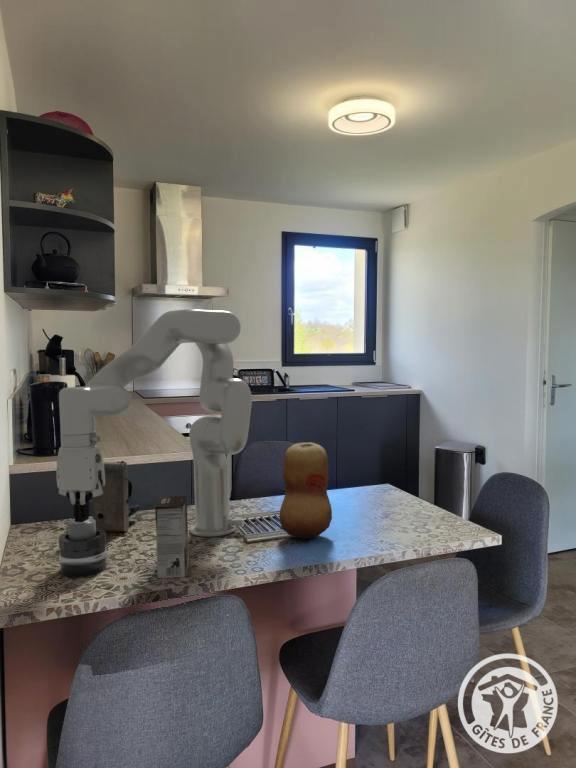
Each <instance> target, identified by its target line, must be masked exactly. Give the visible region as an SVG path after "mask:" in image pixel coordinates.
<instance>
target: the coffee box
mask: <svg viewBox="0 0 576 768" xmlns="http://www.w3.org/2000/svg"><path fill="white" fill-rule="evenodd" d="M187 498H188V496H187V495H165V496H160V497H158V500H157V502H156V504H155V534H156V535H155V536H156V538H155V539H156V568H157V569H156V570H157V571H156V572H157V579H168V578H169V579H170V578H185V577H187V572H188V569H189V564H190V556H189V555H190V553H189V527H188V503H187V502H188V501H187V500H188V499H187Z"/></svg>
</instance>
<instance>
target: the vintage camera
mask: <svg viewBox="0 0 576 768" xmlns="http://www.w3.org/2000/svg"><path fill="white" fill-rule="evenodd" d="M103 463H104V471H105V486H104V487H102V490H103V494H102V495H100V496H96V497H93V498H92V500H91V502H92V503H91V504H92V519H95V520H96V529H102V530H104V531H105V533H127V532H128V531H129V527H130V518H131V517H132V516H133V515H135V514H136V513H137V512H139V511H140V510H141V509H142V508H143V506H141V505H140V504H138V503H137V504H135V505H133V506H130V505H129V504H130V503H129V502H130V498H131V497H132V493H133V484H132V482H131V480H129V472H128V464H127V462H126V461H124V460H121V461H116V462H115V461H114V462H108V461H103ZM126 531H127V532H126Z"/></svg>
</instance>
